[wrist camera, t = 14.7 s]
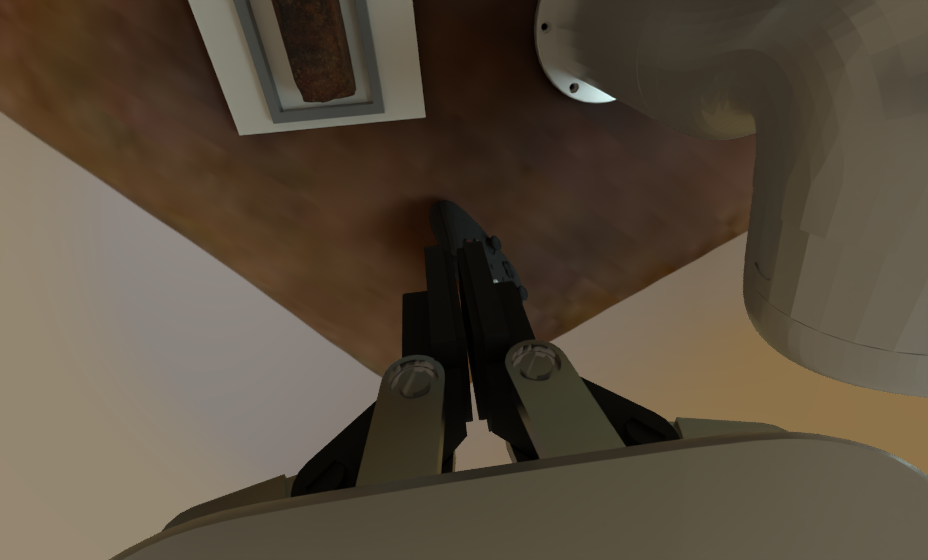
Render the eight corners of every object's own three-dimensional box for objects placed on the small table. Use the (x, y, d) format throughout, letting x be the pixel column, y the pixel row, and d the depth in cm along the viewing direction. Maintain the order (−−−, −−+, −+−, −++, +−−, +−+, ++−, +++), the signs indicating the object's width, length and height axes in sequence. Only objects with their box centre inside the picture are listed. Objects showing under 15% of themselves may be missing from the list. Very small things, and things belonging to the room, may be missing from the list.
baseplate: (396, -135, 28) (396, -144, 26) (425, 113, 37) (426, 120, 35) (151, -120, 27) (132, -127, 25) (244, 131, 36) (235, 139, 34)
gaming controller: (531, 267, 48) (556, 323, 40) (489, 294, 50) (505, 353, 42) (459, 178, 41) (473, 224, 33) (413, 213, 43) (415, 266, 34)
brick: (265, -76, 28) (243, -85, 24) (324, -80, 28) (312, -90, 24) (310, 93, 34) (298, 107, 30) (358, 89, 34) (352, 102, 30)
